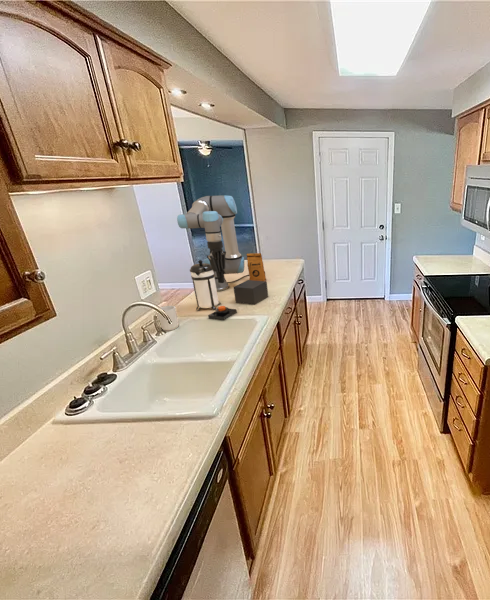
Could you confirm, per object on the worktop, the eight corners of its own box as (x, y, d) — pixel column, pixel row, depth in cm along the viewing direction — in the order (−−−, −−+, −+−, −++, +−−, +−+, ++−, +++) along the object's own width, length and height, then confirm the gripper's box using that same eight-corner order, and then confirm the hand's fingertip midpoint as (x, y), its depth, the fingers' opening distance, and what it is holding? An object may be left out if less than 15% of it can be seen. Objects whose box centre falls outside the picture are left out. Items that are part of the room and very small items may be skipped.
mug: (173, 331, 171) (169, 311, 168) (156, 331, 172) (151, 311, 168) (185, 322, 183) (181, 303, 179) (169, 322, 183) (165, 303, 179)
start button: (221, 308, 192) (221, 305, 192) (227, 309, 191) (226, 306, 191) (216, 310, 188) (216, 308, 188) (222, 311, 188) (222, 308, 187)
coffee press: (227, 306, 204) (220, 259, 194) (201, 314, 193) (191, 264, 183) (215, 300, 216) (207, 255, 205) (190, 306, 205) (180, 259, 194)
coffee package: (264, 282, 251) (261, 254, 244) (248, 283, 250) (244, 254, 243) (267, 278, 261) (264, 251, 253) (251, 279, 260) (247, 252, 252)
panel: (222, 311, 198) (221, 304, 196) (236, 312, 195) (236, 306, 194) (208, 318, 187) (207, 312, 185) (223, 320, 184) (222, 314, 183)
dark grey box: (250, 294, 225) (248, 279, 221) (268, 296, 222) (266, 281, 218) (235, 302, 211) (233, 286, 207) (254, 304, 207) (252, 288, 204)
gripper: (212, 243, 171) (219, 286, 179) (228, 239, 183) (234, 279, 191) (200, 242, 173) (207, 285, 181) (216, 238, 184) (223, 279, 192)
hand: (221, 282), depth 186 cm, fingers closed
